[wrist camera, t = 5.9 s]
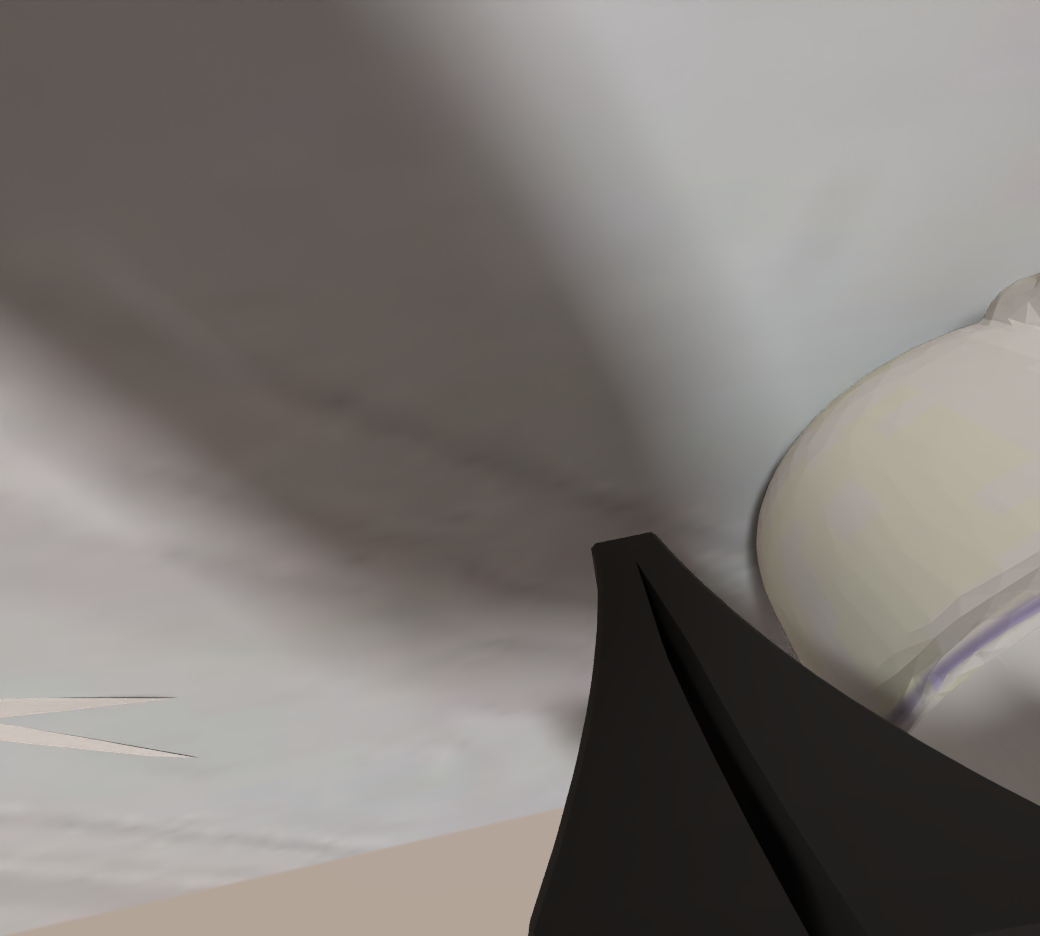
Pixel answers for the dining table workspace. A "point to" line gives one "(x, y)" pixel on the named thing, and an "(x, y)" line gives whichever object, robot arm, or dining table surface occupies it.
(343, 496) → the dining table surface
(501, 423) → the dining table surface
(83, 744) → the scissors
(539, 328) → the dining table surface
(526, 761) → the dining table surface
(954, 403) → the teacup
